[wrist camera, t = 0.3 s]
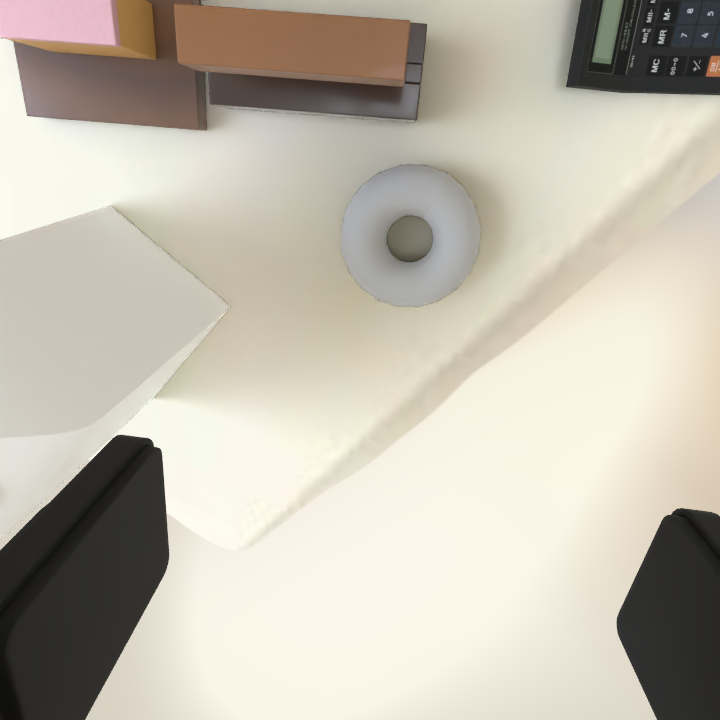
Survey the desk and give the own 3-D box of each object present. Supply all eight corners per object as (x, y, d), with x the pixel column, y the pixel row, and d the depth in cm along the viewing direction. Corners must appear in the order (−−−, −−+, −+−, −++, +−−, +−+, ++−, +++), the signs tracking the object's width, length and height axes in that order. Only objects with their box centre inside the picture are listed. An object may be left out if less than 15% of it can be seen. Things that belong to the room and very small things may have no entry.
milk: (110, 205, 36) (-423, 313, 13) (230, 306, 39) (-24, 552, 15) (39, 314, 40) (-466, 549, 17) (152, 398, 43) (-145, 706, 19)
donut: (335, 288, 38) (459, 310, 38) (328, 300, 35) (464, 324, 35) (354, 152, 34) (493, 176, 34) (348, 152, 31) (502, 179, 31)
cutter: (239, 46, 32) (173, 2, 22) (406, 59, 31) (410, 20, 22) (240, 88, 33) (177, 63, 23) (402, 100, 32) (404, 80, 23)
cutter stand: (224, 21, 31) (204, 7, 28) (424, 36, 31) (427, 23, 28) (227, 108, 33) (209, 104, 30) (414, 123, 33) (416, 120, 30)
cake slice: (41, -6, 30) (-24, -34, 25) (153, 2, 30) (108, -25, 25) (51, 52, 31) (-10, 36, 27) (157, 60, 31) (116, 45, 26)
